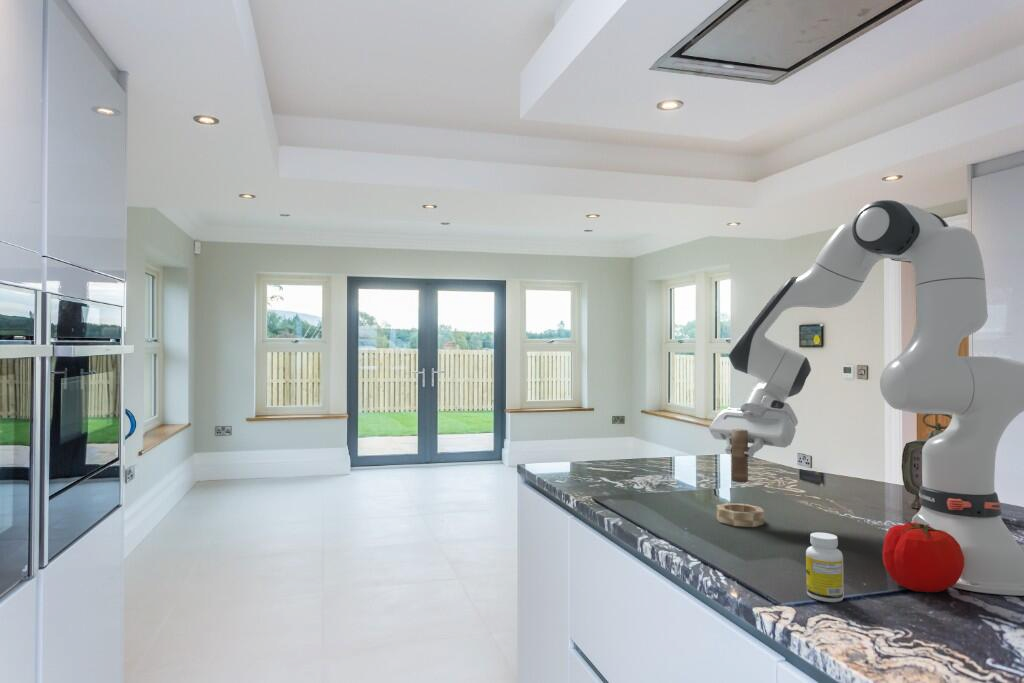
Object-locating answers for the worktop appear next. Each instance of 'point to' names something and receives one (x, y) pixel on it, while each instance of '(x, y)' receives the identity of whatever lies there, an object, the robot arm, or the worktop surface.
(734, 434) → the brown wooden cylinder
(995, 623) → the worktop surface
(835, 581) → the supplement bottle
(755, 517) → the wooden octagonal ring
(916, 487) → the tabletop clock
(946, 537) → the tomato
